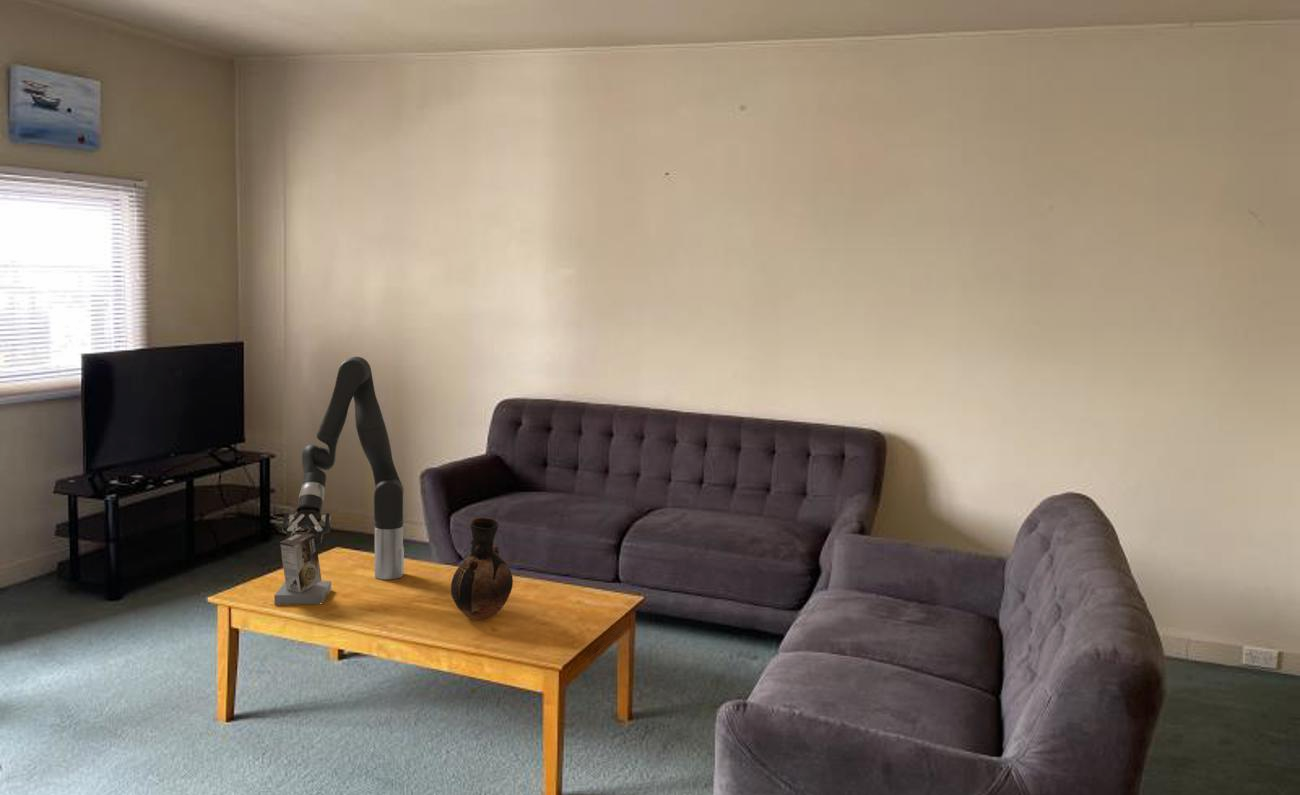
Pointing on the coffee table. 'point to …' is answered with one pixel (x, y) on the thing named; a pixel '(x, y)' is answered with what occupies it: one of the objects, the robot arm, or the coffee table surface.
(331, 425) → the robot arm
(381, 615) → the coffee table surface
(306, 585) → the coffee box
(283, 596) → the plinth
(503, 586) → the ceramic vessel
